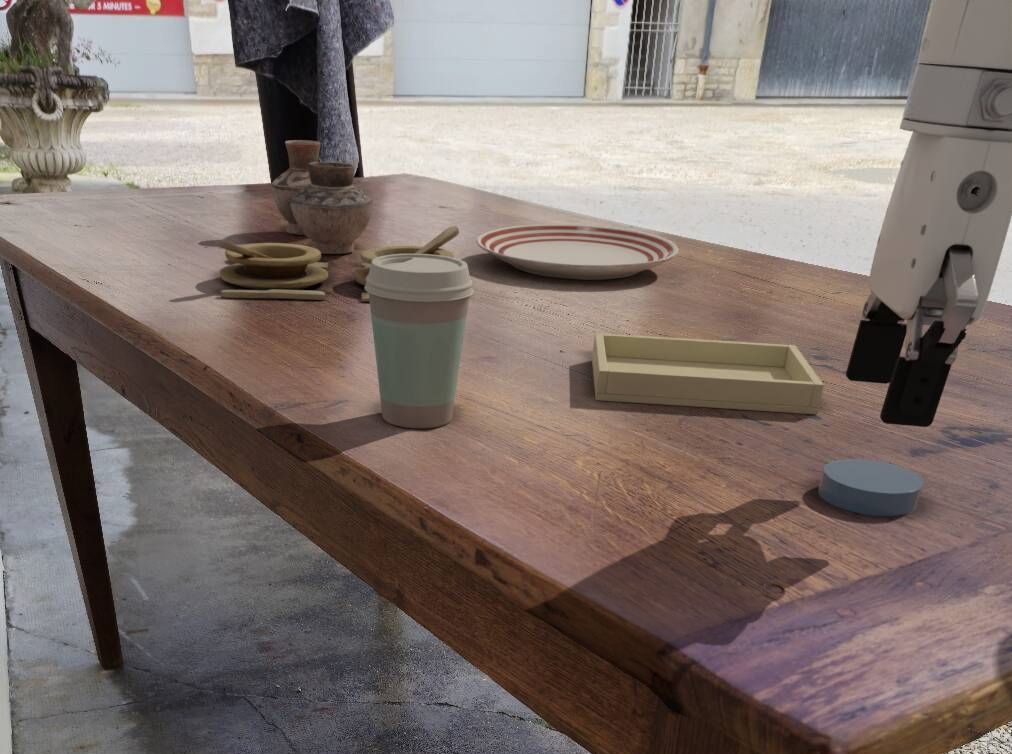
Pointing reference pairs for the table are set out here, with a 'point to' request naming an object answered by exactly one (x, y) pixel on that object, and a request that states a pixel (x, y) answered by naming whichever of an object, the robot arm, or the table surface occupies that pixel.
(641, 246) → the dinner plate
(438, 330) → the coffee cup
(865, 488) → the blue-grey disc
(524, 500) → the table surface
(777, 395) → the serving tray
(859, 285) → the table surface
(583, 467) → the table surface
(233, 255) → the tableware set
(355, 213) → the pottery
